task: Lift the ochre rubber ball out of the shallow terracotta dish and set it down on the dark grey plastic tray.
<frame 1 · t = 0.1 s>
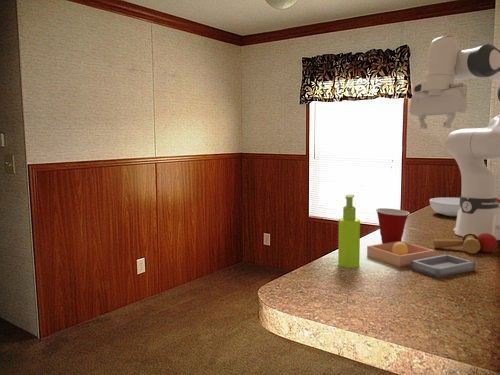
hand: (434, 128, 143), 39 cm above the countertop, tool pointing down, fingers open, 8 cm apart
serving bowl: (453, 215, 199), on the countertop
dish: (399, 258, 128), on the countertop
plastic cup: (392, 245, 145), on the countertop
soap dispenser: (348, 265, 123), on the countertop
kendama: (464, 251, 137), on the countertop
ball: (400, 249, 128), point 3 cm above the countertop, touching dish
tray: (442, 269, 117), on the countertop
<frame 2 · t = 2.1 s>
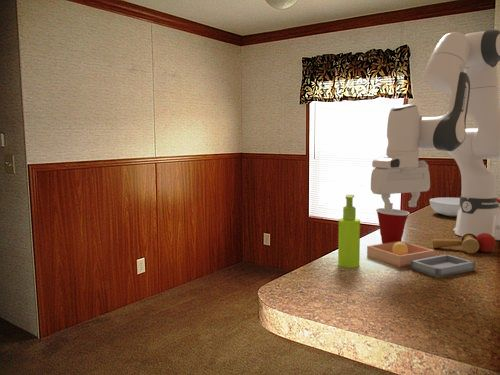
hand: (400, 208, 126), 15 cm above the countertop, tool pointing down, fingers open, 8 cm apart
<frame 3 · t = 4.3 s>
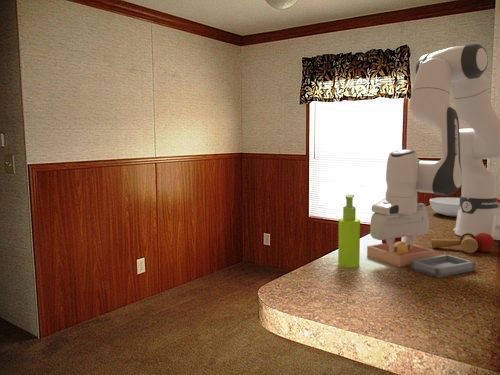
hand: (400, 251, 128), 2 cm above the countertop, tool pointing down, fingers closed on ball, 4 cm apart
ball: (400, 249, 128), point 3 cm above the countertop, touching dish, gripper
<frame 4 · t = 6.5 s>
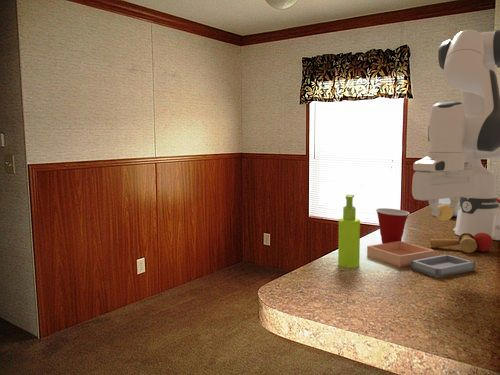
hand: (443, 214, 115), 15 cm above the countertop, tool pointing down, fingers closed on ball, 4 cm apart
ball: (443, 212, 115), point 16 cm above the countertop, touching gripper
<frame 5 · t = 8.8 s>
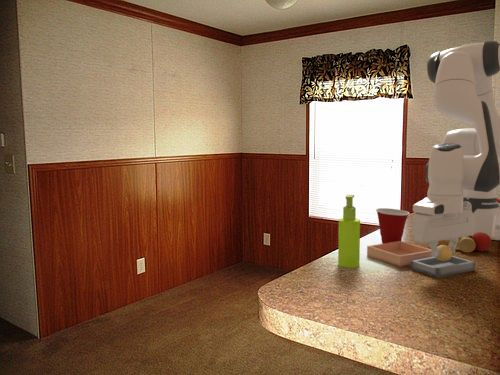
hand: (443, 254, 117), 4 cm above the countertop, tool pointing down, fingers closed on ball, 4 cm apart
ball: (443, 253, 117), point 5 cm above the countertop, touching gripper
when the fingers open (4 cm above the countertop, at t = 9.0 s): ball drops 2 cm and tips over, resting on tray.
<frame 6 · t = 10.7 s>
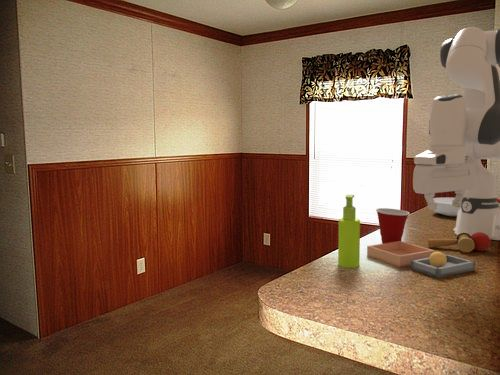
hand: (444, 208, 115), 17 cm above the countertop, tool pointing down, fingers open, 8 cm apart
ball: (437, 259, 116), point 3 cm above the countertop, tilted 52°, touching tray
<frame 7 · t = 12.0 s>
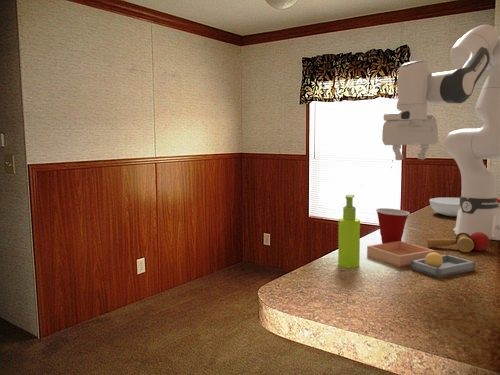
hand: (410, 159, 134), 29 cm above the countertop, tool pointing down, fingers open, 8 cm apart
ball: (433, 260, 115), point 3 cm above the countertop, tilted 91°, touching tray
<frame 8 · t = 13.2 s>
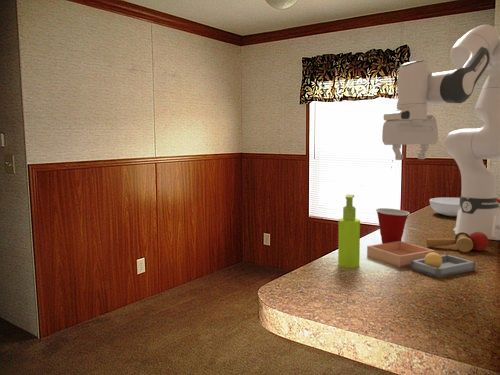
hand: (410, 159, 134), 29 cm above the countertop, tool pointing down, fingers open, 8 cm apart
ball: (433, 260, 115), point 3 cm above the countertop, tilted 97°, touching tray
at the end: ball inside the target area on the tray (3.6 cm from its centre), point 3.0 cm above the tray's base; the gripper is holding nothing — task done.
